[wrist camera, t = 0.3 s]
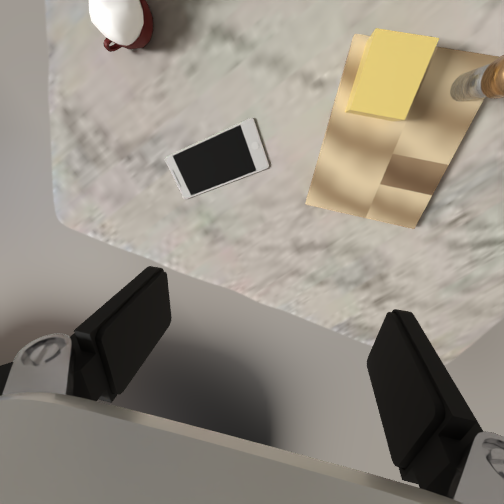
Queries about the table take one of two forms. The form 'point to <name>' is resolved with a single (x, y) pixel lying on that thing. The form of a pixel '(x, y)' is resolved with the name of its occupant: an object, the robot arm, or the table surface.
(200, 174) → the smartphone
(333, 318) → the table surface
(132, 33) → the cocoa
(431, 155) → the subfloor panel
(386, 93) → the yellow rectangular block
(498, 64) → the two-tone metal cylinder
